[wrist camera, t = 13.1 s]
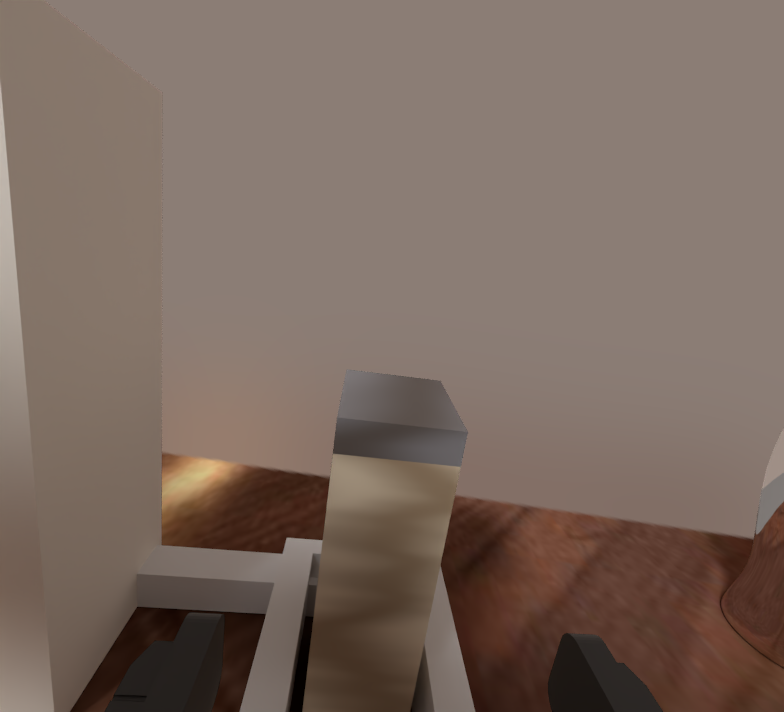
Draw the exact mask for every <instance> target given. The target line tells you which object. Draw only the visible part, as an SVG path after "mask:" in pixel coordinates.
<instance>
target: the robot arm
mask: <svg viewBox="0 0 784 712" xmlns="http://www.w3.org/2000/svg"><path fill="white" fill-rule="evenodd" d="M224 624H225V616H224V614H211V613H192V612H190V613H188V615H187V616H186V617H185V619H184V621H183V623H182V625H181V627H180V629H179V631H178V633H177V635H176V637H175V639H174V641H154V642H153V643H152V644H151V645H150V646H149V647H148V648H147V649H146V650H145V651H144V652H143V653H142V654H141V655H140V656H139V657H138V658H137V659H136V660H135V661H134V662H133V663H132V664H131V665H130V667H129V669H128V671H127V673H126V674H125V676H124V678H123V680H122V681H121V683H120V685H119V687H118V689H117V690H116V692H115V694H114V697H113V700H112V701H110V703H109V705H108V706H107V708H106V710H105V712H211V711H212V708H213V705H214V702H215V698H216V695H217V691H218V687H219V683H220V678H221V672H222V663H223V644H224ZM548 694H549V701H550V705H551V709H552V712H663V711H662V709H661V708H660V706H659V705H658V703H657V702H656V700H655V698H654V697H653V695H652V694H651V692H650V691H649V689H648V688H647V686H646V685H645V684H644V683H643V682H642V681H641V680H640V679H639V678H638V677H637V676H636V675H635V674H634V673H633V672H632V671H631V670H630V669H629V668H628V667H627V666H626V665H625V664H624V663H617V662H616V661H615V659H614V657H613V656H612V654H611V653H610V651H609V649H608V648H607V646H606V644H605V643H604V641H603V640H602V639H601V638H600V637H599V636H597V635H589V634H570V633H566V634H564V635H563V636H562V639H561V641H560V645H559V648H558V651H557V654H556V658H555V661H554V664H553V667H552V671H551V674H550V677H549V682H548Z"/></svg>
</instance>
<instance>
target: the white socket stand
mask: <svg viewBox="0 0 784 712" xmlns="http://www.w3.org/2000/svg"><path fill="white" fill-rule="evenodd" d="M162 103H163V93H162V92H161V91H160V90H159V89H158V88H156V87H155V86H154V85H152V84H151V83H150V82H149V81H147V80H146V79H145V78H143V77H142V76H141V75H140V74H138V73H137V72H136V71H134V70H133V69H132V68H131V67H129V66H128V65H127V64H125V63H124V62H123V61H121V60H120V59H119V58H118V57H116V56H115V55H114V54H113V53H111V52H110V51H109V50H107V49H106V48H105V47H104V46H102V45H101V44H100V43H98V42H97V41H96V40H95V39H93V38H92V37H91V36H89V35H88V34H87V33H85V32H84V31H83V30H82V29H80V28H79V27H78V26H77V25H75V24H74V23H73V22H71V21H70V20H69V19H68V18H66V17H65V16H64V15H62V14H61V13H60V12H59V11H57V10H56V9H55V8H53V7H52V6H50V4H48V3H47V2H46V1H44V0H0V712H70V711H71V709H72V708H73V706H74V705H75V703H76V702H77V700H78V698H79V697H80V695H81V694H82V692H83V691H84V689H85V687H86V686H87V684H88V683H89V681H90V680H91V678H92V677H93V675H94V673H95V672H96V670H97V669H98V667H99V666H100V664H101V662H102V661H103V659H104V658H105V656H106V655H107V653H108V652H109V650H110V648H111V647H112V645H113V644H114V642H115V641H116V639H117V637H118V636H119V634H120V633H121V631H122V630H123V628H124V626H125V625H126V623H127V622H128V620H129V619H130V617H131V616H132V614H133V612H134V611H135V609H136V608H137V607H153V608H170V609H188V610H205V611H222V612H240V613H257V614H266V616H265V620H264V624H263V627H262V631H261V635H260V638H259V642H258V646H257V649H256V653H255V657H254V660H253V664H252V668H251V671H250V675H249V679H248V682H247V686H246V690H245V693H244V697H243V701H242V704H241V708H240V712H290V707H291V701H292V695H293V689H294V682H295V676H296V670H297V664H298V658H299V652H300V646H301V640H302V634H303V628H304V621H305V616H310V617H314V609H315V601H316V592H317V584H318V576H319V567H320V559H321V550H322V542H323V540H312V539H298V538H287V539H286V543H285V547H284V550H283V554H276V553H262V552H248V551H234V550H220V549H206V548H192V547H178V546H165V545H162V113H163V109H162V107H163V104H162ZM411 706H412V712H475V709H474V704H473V700H472V696H471V692H470V688H469V683H468V679H467V675H466V671H465V667H464V662H463V658H462V654H461V650H460V646H459V641H458V637H457V633H456V629H455V625H454V620H453V616H452V612H451V608H450V604H449V599H448V595H447V591H446V587H445V583H444V578H443V574H442V570H441V566H440V570H439V575H438V579H437V584H436V589H435V594H434V599H433V604H432V608H431V613H430V618H429V623H428V628H427V633H426V638H425V642H424V647H423V652H422V657H421V662H420V667H419V671H418V676H417V681H416V686H415V691H414V696H413V701H412V705H411Z"/></svg>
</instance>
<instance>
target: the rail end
mask: <svg viewBox="0 0 784 712" xmlns="http://www.w3.org/2000/svg"><path fill="white" fill-rule="evenodd" d="M467 434H468V431H467V429H466V428H465V426H464V424H463V422H462V420H461V418H460V416H459V415H458V413H457V411H456V409H455V407H454V405H453V404H452V402H451V400H450V398H449V396H448V394H447V392H446V391H445V389H444V387H443V385H442V383H441V381H437V380H429V379H421V378H412V377H404V376H396V375H388V374H379V373H371V372H363V371H355V370H347V371H346V376H345V381H344V386H343V391H342V396H341V401H340V406H339V411H338V416H337V424H336V432H335V440H334V449H333V457H332V466H331V475H330V483H329V491H328V500H327V508H326V516H325V525H324V533H323V542H322V550H321V559H320V567H319V576H318V584H317V592H316V601H315V609H314V618H313V626H312V635H311V643H310V651H309V660H308V668H307V677H306V685H305V694H304V702H303V711H302V712H410V710H411V705H412V701H413V696H414V691H415V686H416V681H417V676H418V671H419V667H420V662H421V657H422V652H423V647H424V642H425V638H426V633H427V628H428V623H429V618H430V613H431V608H432V604H433V599H434V594H435V589H436V584H437V579H438V575H439V570H440V565H441V560H442V555H443V550H444V545H445V541H446V536H447V531H448V526H449V521H450V516H451V512H452V507H453V502H454V497H455V492H456V487H457V482H458V478H459V473H460V467H461V463H462V458H463V453H464V448H465V443H466V439H467Z"/></svg>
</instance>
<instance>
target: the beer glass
mask: <svg viewBox="0 0 784 712" xmlns="http://www.w3.org/2000/svg"><path fill="white" fill-rule="evenodd" d="M721 608H722V611H723V613H724V615H725V617H726V619H727V620H728V622H729V623H730V624H731V626H732V627H733V628H734V629H735V630H736V631H737V632H738V634H739V635H740V636H741V637H743V638H744V639H745V640H746V641H747V642H748V643H749V644H750V645H752V646H753V647H754V648H755V649H757V650H758V651H759V652H760V653H762V654H763V655H765V656H766V657H767V658H769V659H770V660H772V661H774V662H775V663H777V664H778V665H780V666H782V667H783V668H784V429H783V430H782V433H781V435H780V437H779V439H778V441H777V443H776V445H775V447H774V450H773V453H772V455H771V458H770V461H769V464H768V466H767V469H766V473H765V477H764V481H763V486H762V490H761V496H760V502H759V509H758V515H757V523H756V530H755V536H754V541H753V546H752V550H751V553H750V556H749V559H748V561H747V563H746V565H745V567H744V569H743V571H742V572H741V573H740V575H739V576H738V578H737V579H736V580H735V581H734V582H733V584H732V585H731V586H730V587H729V588H728V590H727V591H726V592H725V594H724V595H723V597H722V600H721Z"/></svg>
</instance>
